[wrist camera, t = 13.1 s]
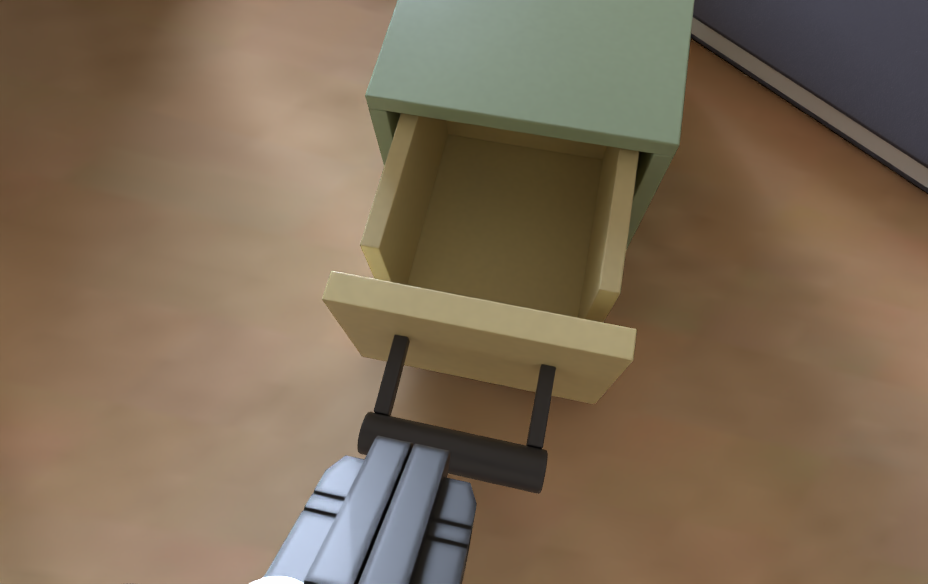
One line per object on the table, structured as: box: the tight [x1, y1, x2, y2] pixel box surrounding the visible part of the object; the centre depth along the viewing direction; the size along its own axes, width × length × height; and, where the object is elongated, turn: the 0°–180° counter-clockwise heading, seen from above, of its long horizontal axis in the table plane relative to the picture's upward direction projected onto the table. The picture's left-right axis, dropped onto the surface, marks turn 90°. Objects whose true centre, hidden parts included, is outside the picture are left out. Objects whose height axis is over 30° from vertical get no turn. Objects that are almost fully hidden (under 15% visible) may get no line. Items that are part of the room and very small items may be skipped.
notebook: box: [691, 0, 928, 193], centre depth 36 cm, size 13×2×21 cm
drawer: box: [322, 113, 639, 494], centre depth 27 cm, size 18×11×8 cm, turn 168°
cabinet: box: [365, 0, 694, 250], centre depth 31 cm, size 15×13×10 cm
